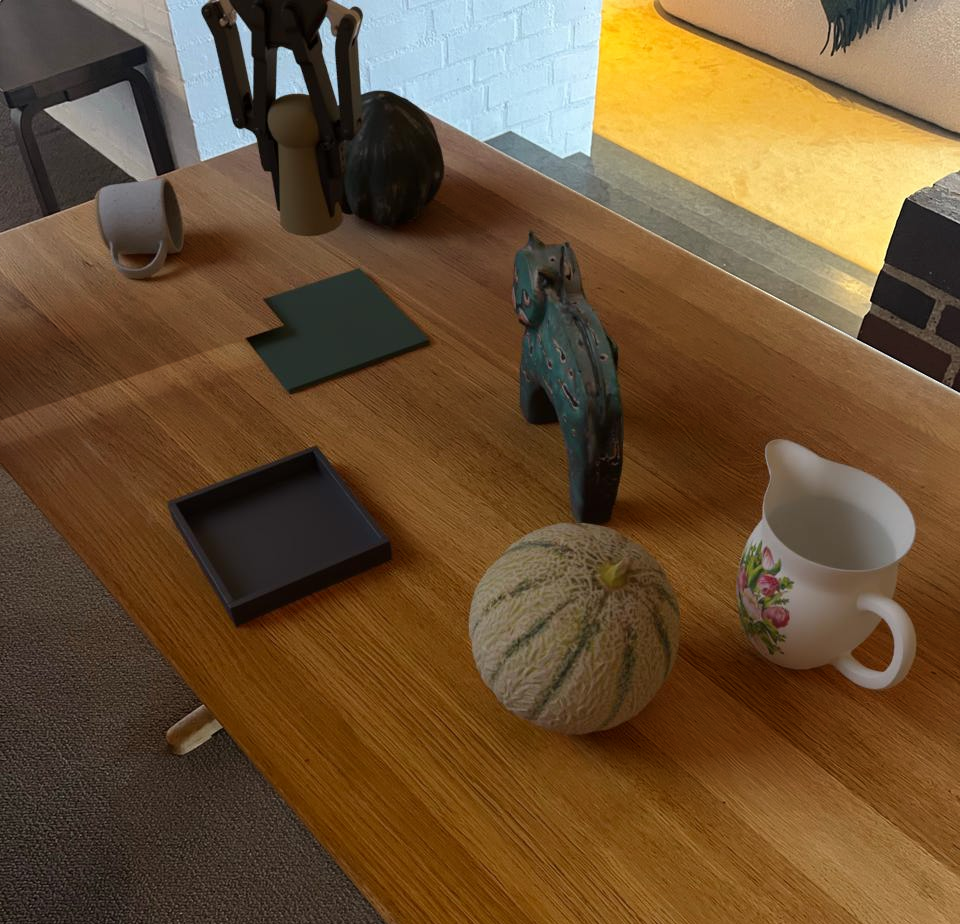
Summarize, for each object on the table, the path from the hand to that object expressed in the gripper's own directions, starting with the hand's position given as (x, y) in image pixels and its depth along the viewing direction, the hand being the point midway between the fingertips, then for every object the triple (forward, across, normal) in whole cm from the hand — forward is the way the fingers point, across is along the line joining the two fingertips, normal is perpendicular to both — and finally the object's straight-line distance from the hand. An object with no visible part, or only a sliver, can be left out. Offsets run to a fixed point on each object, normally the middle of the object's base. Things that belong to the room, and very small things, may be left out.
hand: (309, 206), depth 94 cm
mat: (+13, 0, 0) cm, 13 cm away
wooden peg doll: (+2, 0, 0) cm, 2 cm away
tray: (+13, -6, +30) cm, 34 cm away
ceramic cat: (+14, -28, +14) cm, 34 cm away
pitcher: (+14, -50, +32) cm, 61 cm away
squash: (+14, +2, -26) cm, 29 cm away
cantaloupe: (+14, -33, +40) cm, 54 cm away
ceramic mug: (+14, +25, -9) cm, 30 cm away
